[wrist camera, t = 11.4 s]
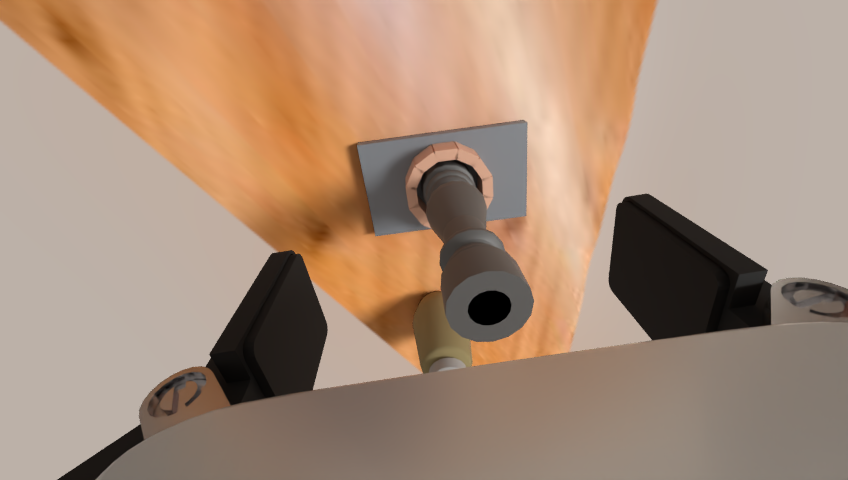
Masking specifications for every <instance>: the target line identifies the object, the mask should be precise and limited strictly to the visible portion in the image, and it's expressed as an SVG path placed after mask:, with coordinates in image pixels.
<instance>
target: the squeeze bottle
mask: <svg viewBox="0 0 848 480" xmlns="http://www.w3.org/2000/svg"><path fill="white" fill-rule="evenodd" d="M412 324H413V329H414V334H415V339H416V344H417V349H418V355H419V360H420V365H421V368H422V371H423V373H424V374H425V373H432V372H438V371H445V370H452V369H459V368H466V367H471V366H472V353H471V343H470V339H466V338H463V337H461V336H460V335H459V334H458V333H456V332H455V331H454V330H453V329H451V327H450V325H449V323H448V320H447V318H446V316H445V310H444V304H443V298H442V292H441V291H436V292H432V293H429V294H428V295H426V296H424V298H423V299H422V300H421V302H420V303H419V306H418V308H417V310H416V312H415V314H414V318H413V323H412Z"/></svg>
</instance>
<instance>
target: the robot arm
mask: <svg viewBox="0 0 848 480" xmlns="http://www.w3.org/2000/svg"><path fill="white" fill-rule="evenodd" d="M767 271H768V270H767V269H765V268H764V267H762V266H761V265H759V264H757V263H756V262H754V261H753V260H751V259H750V258H748V257H746V256H745V255H743V254H742V253H740V252H739V251H737V250H736V249H734V248H732V247H731V246H729V245H728V244H726V243H725V242H723V241H721V240H720V239H718V238H717V237H715V236H714V235H712V234H710V233H709V232H707V231H706V230H704V229H703V228H701V227H700V226H698V225H696V224H695V223H693V222H692V221H690V220H689V219H687V218H685V217H684V216H682V215H681V214H679V213H678V212H676V211H674V210H673V209H671V208H670V207H668V206H667V205H665V204H664V203H662V202H660V201H659V200H657V199H656V198H654V197H653V196H651V195H649V194H642V195H636V196H629V197H625V198H624V199H623V201H622V203H619V204H618V205H617V208H616V217H615V226H614V235H613V244H612V253H611V262H610V271H609V285H610V288H611V290H612V292H613V293H614V294H615V295H616V297H617V298H618V299H619V300H620V301H621V303H622V304H623V305H624V306H625V308H626V309H627V310H628V311H629V312H630V313H631V315H632V316H633V317H634V319H635V320H636V321H637V322H638V323H639V325H640V326H641V327H642V328H643V329H644V331H645V332H646V333H647V334H648V336H649V337H650V338H651V339H652V341H646V342H638V343H631V344H624V345H617V346H610V347H603V348H596V349H589V350H582V351H575V352H568V353H562V354H555V355H548V356H541V357H534V358H527V359H520V360H513V361H506V362H500V363H493V364H486V365H479V366H473V367H466V368H459V369H452V370H445V371H438V372H432V373H425V374H418V375H411V376H404V377H398V378H391V379H384V380H378V381H371V382H364V383H358V384H351V385H344V386H338V387H331V388H325V389H318V390H313V386H314V382H315V379H316V374H317V371H318V367H319V363H320V360H321V356H322V351H323V348H324V344H325V340H326V336H327V323H326V320H325V317H324V314H323V312H322V309H321V306H320V304H319V301H318V298H317V296H316V293H315V290H314V288H313V285H312V282H311V279H310V277H309V274H308V271H307V269H306V266H305V263H304V261H303V258H302V256H301V255H300V254H295V253H294V251H292V250H290V251H284V252H278V253H272V254H271V255H270V257H269V259H268V260H267V262H266V263H265V265H264V266H263V268H262V270H261V271H260V273H259V275H258V276H257V278H256V279H255V281H254V283H253V284H252V286H251V288H250V289H249V291H248V292H247V294H246V296H245V297H244V299H243V300H242V302H241V304H240V305H239V307H238V309H237V310H236V312H235V313H234V315H233V317H232V318H231V320H230V322H229V323H228V325H227V326H226V328H225V330H224V331H223V333H222V335H221V336H220V338H219V339H218V341H217V343H216V344H215V346H214V348H213V349H212V351H211V352H210V356H211V359H210V360H209V362H208V364H207V365H206V367H202V366H201V367H191V368H188V369H185V370H182V371H180V372H177V373H175V374H173V375H171V376H170V377H168V378H167V379H165V380H164V381H162V382H161V383H160V384H158V385H157V386H156V387H155V388H154V389H153V390H152V391H151V392H150V393H149V394H148V396H147V397H146V398H145V399H144V401H143V403H142V405H141V407H140V410H139V419H140V423H141V424H140V425H139V426H137V427H136V428H134V429H133V430H131V431H130V432H128V433H127V434H125V435H124V436H122V437H121V438H119V439H118V440H116V441H115V442H113V443H112V444H110V445H109V446H107V447H106V448H104V449H103V450H101V451H100V452H98V453H97V454H95V455H94V456H92V457H91V458H89V459H88V460H86V461H85V462H83V463H82V464H80V465H79V466H77V467H76V468H74V469H73V470H71V471H70V472H68V473H67V474H65V475H64V476H62V477H61V478H59V479H58V480H848V289H846V288H844V287H841V286H838V285H835V284H832V283H828V282H824V281H820V280H816V279H808V278H786V279H781V280H778V281H776V282H775V283H773V285H771V284H769V283H768V282H766V281H765V280H764V279H765V277H766V274H767Z"/></svg>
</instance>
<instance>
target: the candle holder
mask: <svg viewBox="0 0 848 480" xmlns="http://www.w3.org/2000/svg"><path fill="white" fill-rule="evenodd" d="M421 186H422V193H423V196H424V199H425V201H426V204H427V209H426V217H427V220H428V222H429V224H430V227H431V228H432V230H433V231H434V232H435V233H436V234H437V235H438V237H439V238H440V239H441V240H442V241H443V243H444V245H443V247H442V249H441V251H440V266H441V269H442V271H443V272H442V275H441V292H442V298H443V304H444V310H445V316H446V318H447V320H448V323H449V325H450V327H451V329H453V330H454V331H455V332H456V333H458V334H459V335H460V336H461V337H463V338H466V339H470V340H473V341H476V342H491V341H496V340H499V339H502V338H505V337H509V336H510V335H512V334H513V333H514V332H516V331H517V330H519V329H520V328H522V327H523V325H524V324H525V323H526V321H527V320H528V318H529V317H530V316H531V313H532V308H533V303H534V299H533V296H532V292H531V289H530V286H529V285H528V283H527V281H526V279H525V277H524V275H523V274H522V272H521V270H520V268H519V266H518V264H517V262H516V261H515V260H514V259H513V258H512V257H511V256H510V255H509V254H508V253H507V252H506V251H505V249H504V246H503V243H502V241H501V240H500V239H499V238H498V237H497V236H496V235H495V234H494V233H493V232H491V231H488V230H486V215H487V206H486V203H485V200H484V196H483V195H482V193H481V192H480V191H479V190H478V189H477V188H476V187H475V186H476V185H475V182H474V179H473V176H472V174H471V172H470V171H469V169H468V167H467V166H466V165H465V164H464V163H463V162H461V161H459V160H448V161H441V162H437V163H436V164H435V165H433V166H432V167H431V168H429V169H428V170H427V171H425V172H424V173H423V175H422V180H421Z"/></svg>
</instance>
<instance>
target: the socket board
mask: <svg viewBox="0 0 848 480" xmlns="http://www.w3.org/2000/svg"><path fill="white" fill-rule="evenodd" d="M357 149H358V153H359V158H360V163H361V168H362V173H363V178H364V182H365V187H366V192H367V197H368V202H369V207H370V211H371V216H372V221H373V226H374V231H375V236H381V235H388V234H396V233H403V232H410V231H418V230H425V229H432V228H431V227H430V224H429V222H428V220H427V217H426V209H427V204H426V201H425V199H424V196H423V193H422V186H421V180H422V175H423V173H424V172H425V171H427V170H428V169H429V168H431V167H432V166H433V165H435V164H436V163H437V162H441V161H448V160H459V161H461V162H463V163H464V164H465V165H466V166H467V167H468V169H469V171H470V172H471V174H472V176H473V179H474V182H475V185H476V186H475V187H476V188H477V189H478V190H479V191H480V192H481V193H482V195H483V196H484V200H485V203H486V206H487V215H486V221H492V220H499V219H507V218H514V217H522V216H526V194H527V122H526V121H524V120H520V121H513V122H505V123H498V124H491V125H483V126H476V127H469V128H461V129H454V130H447V131H439V132H432V133H425V134H417V135H410V136H403V137H395V138H388V139H381V140H373V141H366V142H358V144H357Z"/></svg>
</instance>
